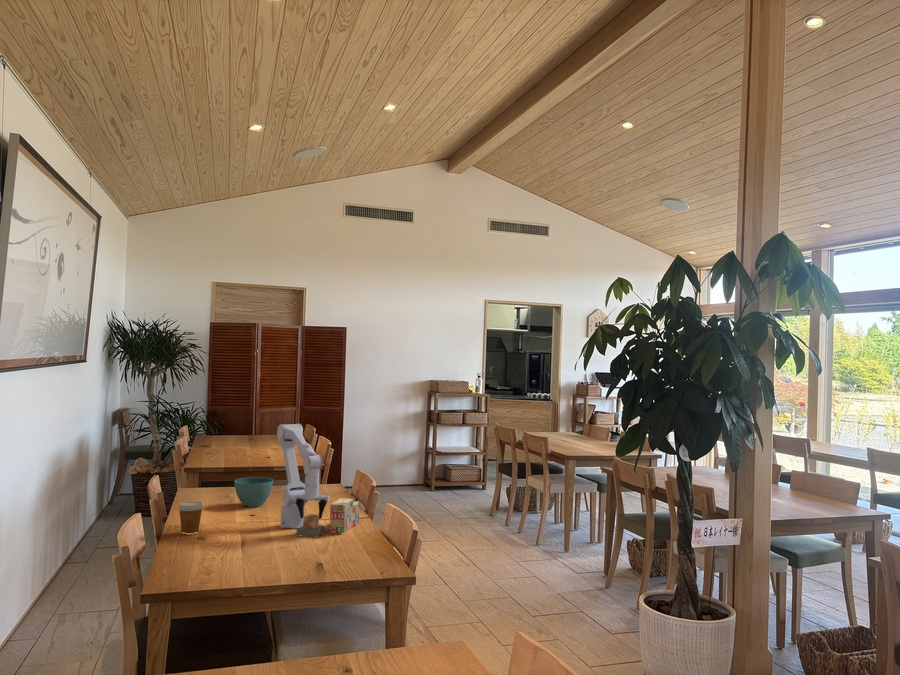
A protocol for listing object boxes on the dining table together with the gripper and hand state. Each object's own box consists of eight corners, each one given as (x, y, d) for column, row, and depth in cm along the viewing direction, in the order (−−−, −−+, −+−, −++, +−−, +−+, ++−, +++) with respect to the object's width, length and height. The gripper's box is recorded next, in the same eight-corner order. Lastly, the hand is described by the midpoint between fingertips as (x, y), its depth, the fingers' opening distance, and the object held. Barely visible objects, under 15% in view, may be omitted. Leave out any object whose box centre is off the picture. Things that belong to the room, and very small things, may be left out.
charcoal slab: (296, 537, 270) (296, 529, 270) (303, 531, 279) (303, 524, 279) (318, 538, 269) (318, 530, 270) (324, 532, 278) (324, 525, 278)
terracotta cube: (303, 528, 272) (303, 516, 272) (306, 525, 277) (307, 513, 277) (315, 529, 272) (315, 516, 272) (318, 526, 277) (318, 514, 277)
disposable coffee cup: (207, 532, 273) (208, 502, 274) (189, 537, 265) (190, 506, 265) (190, 529, 277) (191, 500, 278) (172, 534, 269) (173, 504, 269)
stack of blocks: (345, 522, 296) (346, 494, 297) (359, 522, 295) (360, 494, 296) (329, 533, 275) (330, 503, 276) (344, 534, 274) (344, 504, 275)
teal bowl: (280, 504, 329) (281, 479, 330) (251, 511, 314) (252, 484, 314) (254, 500, 339) (255, 476, 340) (225, 506, 324) (226, 480, 324)
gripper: (291, 485, 272) (290, 519, 271) (326, 487, 271) (325, 520, 270) (297, 482, 279) (296, 515, 278) (331, 484, 278) (330, 517, 277)
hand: (311, 518), depth 275 cm, fingers open, 7 cm apart
